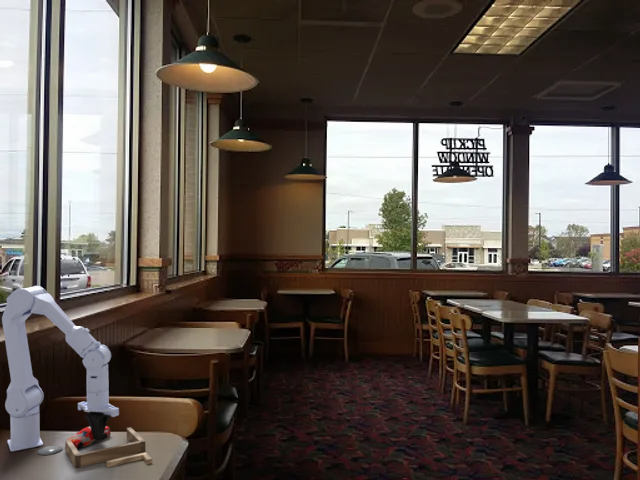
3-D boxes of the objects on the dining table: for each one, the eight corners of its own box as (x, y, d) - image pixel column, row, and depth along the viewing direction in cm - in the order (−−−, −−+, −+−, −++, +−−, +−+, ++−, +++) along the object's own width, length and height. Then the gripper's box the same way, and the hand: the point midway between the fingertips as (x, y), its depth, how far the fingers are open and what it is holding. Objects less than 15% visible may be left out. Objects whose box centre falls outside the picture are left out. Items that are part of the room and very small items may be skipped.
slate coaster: (36, 449, 152) (36, 448, 152) (60, 445, 156) (60, 443, 156) (39, 456, 147) (39, 455, 147) (64, 451, 151) (64, 450, 151)
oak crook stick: (111, 472, 137) (111, 468, 137) (106, 465, 141) (106, 461, 141) (152, 463, 142) (152, 458, 142) (146, 456, 147) (145, 452, 147)
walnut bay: (65, 451, 151) (65, 440, 151) (131, 437, 161) (130, 427, 161) (75, 468, 139) (75, 456, 139) (145, 452, 149) (145, 441, 149)
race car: (73, 452, 151) (72, 438, 151) (60, 449, 154) (60, 434, 154) (114, 437, 162) (113, 423, 162) (101, 434, 165) (101, 420, 165)
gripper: (68, 390, 156) (68, 438, 156) (103, 396, 149) (104, 447, 150) (89, 384, 163) (90, 430, 163) (124, 390, 156) (125, 438, 156)
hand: (98, 438), depth 157 cm, fingers closed
